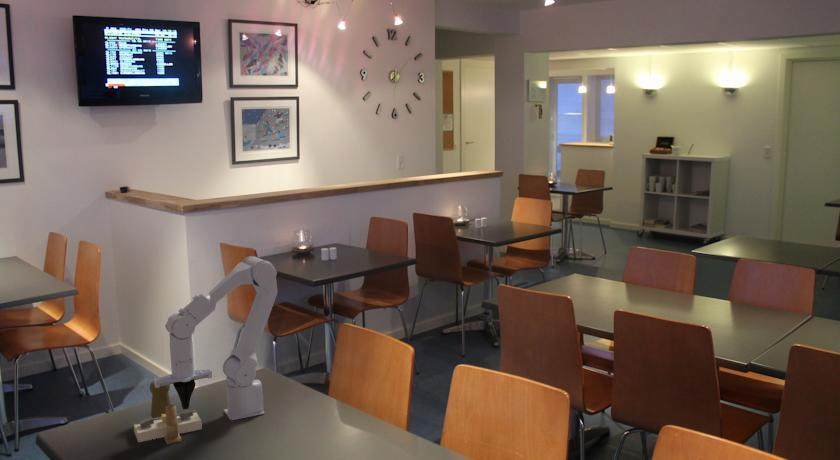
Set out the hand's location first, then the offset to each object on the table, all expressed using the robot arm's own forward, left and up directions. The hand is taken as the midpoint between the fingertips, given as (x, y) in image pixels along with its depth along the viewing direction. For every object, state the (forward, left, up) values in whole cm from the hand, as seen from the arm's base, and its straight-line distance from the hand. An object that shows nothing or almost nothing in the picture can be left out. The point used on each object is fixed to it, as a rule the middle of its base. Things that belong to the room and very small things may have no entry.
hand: (185, 407), depth 196 cm
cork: (+5, -9, -6) cm, 12 cm away
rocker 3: (0, 0, -3) cm, 3 cm away
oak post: (+5, +7, -5) cm, 10 cm away
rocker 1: (+10, 0, -3) cm, 10 cm away
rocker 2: (+5, 0, -3) cm, 6 cm away
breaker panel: (+5, 0, -5) cm, 7 cm away
